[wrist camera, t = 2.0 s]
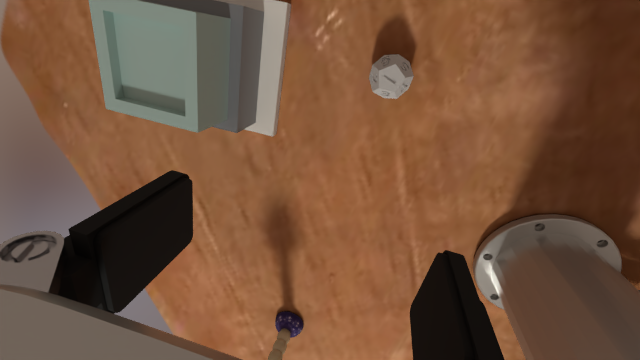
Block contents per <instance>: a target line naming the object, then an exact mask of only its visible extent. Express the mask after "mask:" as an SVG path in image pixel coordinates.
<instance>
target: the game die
mask: <svg viewBox="0 0 640 360" xmlns="http://www.w3.org/2000/svg"><path fill="white" fill-rule="evenodd" d="M413 77H414V75H413V72H412V69H411V65H410V62H409V61H407V60H406V59H405V58H403V57H402V56H400V55H399V54H393V55H384V56H383V57H381V58H380V59H379V60H378V61H377V62H375V63H374V64H373V65H372V69H371V73H370V76H369V80H370V84H371V87H372V91H373V92H374V93H376V94H378V95H379V96H381V97H383V98H395V99H397V98H398V97H399V96H401V95H402V94H403V93H404V92H405V91H406V90H408V88H409V86H410V84H411V81H412V79H413Z"/></svg>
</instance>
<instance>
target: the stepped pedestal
mask: <svg viewBox="0 0 640 360" xmlns="http://www.w3.org/2000/svg"><path fill="white" fill-rule="evenodd" d="M89 5H90V11H91V18H92V24H93V30H94V36H95V43H96V49H97V55H98V62H99V68H100V74H101V80H102V87H103V93H104V99H105V106H106V109H109V110H112V111H116V112H120V113H124V114H128V115H132V116H136V117H139V118H143V119H147V120H151V121H155V122H159V123H163V124H166V125H170V126H174V127H178V128H182V129H186V130H190V131H194V132H197V133H198V132H200V131H203V130H205V129H207V128H210V127H216V128H220V129H223V130H227V131H231V132H235V133H238V132H240V131H242V130H243V129H245V130H249V131H253V132H257V133H261V134H265V135H269V136H274V135H276V133H277V124H278V115H279V107H280V98H281V89H282V80H283V72H284V63H285V54H286V45H287V37H288V28H289V19H290V10H291V4H289V3H286V2H281V1H276V0H89Z"/></svg>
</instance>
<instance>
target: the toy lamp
mask: <svg viewBox="0 0 640 360" xmlns="http://www.w3.org/2000/svg"><path fill="white" fill-rule="evenodd" d="M275 324H276V329H277V330H278V332H279V333H278V336H277V340H276V341H275V343H274V345H273V350H272V351H271V352H270V354H269V356H268V360H282V355H283V354H284V352H285V350H286V347H287V343H288V342H289V340H290V338H291V337H295V336H297V335H298V334H299V333H300V332H301V331H302V329H303V321H302V320H301V318H300V317H299V316H297V315H295V314H294V313H291V312H286V311H285V312H280V313H279V314H278V315H277V316H276V321H275Z"/></svg>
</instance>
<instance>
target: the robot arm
mask: <svg viewBox="0 0 640 360" xmlns="http://www.w3.org/2000/svg"><path fill="white" fill-rule="evenodd" d="M69 233H70V235H69V236H67V237H66V238H63V237H62V235H61V234H58V233H56V232H51V231H36V232H30V233H25V234H22V235H19V236H16V237H13V238H11V239H9V240H7V241H5V242H3V243H2V244H0V360H242V359H239V358H236V357H234V356H231V355H228V354H225V353H222V352H220V351H217V350H214V349H211V348H208V347H206V346H203V345H200V344H197V343H194V342H192V341H189V340H186V339H183V338H180V337H178V336H175V335H172V334H169V333H166V332H163V331H161V330H158V329H155V328H152V327H149V326H146V325H144V324H141V323H138V322H135V321H132V320H129V319H127V318H123V317H121V316H118V315H115V314H114V313H118V312H120V311H121V310H122V309H124V308H125V307H126V306H127V305H128V304H129V303H130V302H131V301H132V300H133V299H134V298H135V297H136V296H137V295H138V294H139V293H140V292H141V291H142V290H143V289H144V288H145V287H146V286H147V285H148V284H149V283H150V282H151V281H152V280H153V279H154V278H155V277H156V276H157V275H158V274H159V273H160V272H161V271H162V270H163V269H164V268H165V267H166V266H167V265H168V264H169V263H170V262H171V261H172V260H173V259H174V258H175V257H176V256H177V255H178V254H179V253H180V252H181V251H182V250H183V249H184V248H185V247H186V246H187V245H188V244H189V243H190V242H191V240H192V237H193V197H192V180H190V179H189V176H188V175H187V174H184V173H180V172H177V171H169V172H167V173H166V174H164V175H162V176H160V177H159V178H157V179H155V180H153V181H152V182H150V183H148V184H146V185H145V186H143V187H141V188H139V189H138V190H136V191H134V192H132V193H131V194H129V195H127V196H125V197H124V198H122V199H120V200H118V201H117V202H115V203H113V204H111V205H110V206H108V207H106V208H104V209H103V210H101V211H99V212H97V213H96V214H94V215H92V216H91V217H89V218H87V219H85V220H84V221H82V222H80V223H78V224H77V225H75V226H73V227H71V228H70V229H69ZM621 270H622V258H621V255H620V252H619V249H618V247H617V246H616V244H615V243H614V241H613V240H612V239H611V238H610V237H609V236H608V235H606V234H605V233H604V232H603V231H602V230H600V229H599V228H598V227H596V226H595V225H594V224H591V223H589V222H587V221H585V220H582V219H579V218H576V217H572V216H568V215H557V214H545V215H535V216H530V217H524V218H521V219H518V220H515V221H512V222H510V223H508V224H506V225H504V226H502V227H500V228H498V229H497V230H496V231H494V232H493V233H492V234H490V235H489V236H488V237H487V238H486V239H485V240H484V241H483V242H482V244H481V245H480V247H479V248H478V250H477V252H476V255H475V258H474V261H473V272H474V277H475V280H476V282H477V285H478V287H479V289H480V291H481V292H482V294H483V295H484V296H485V297H486V298H487V299H488V300H489V301H490V302H492V303H493V304H495V305H496V306H497V307H499V308H501V309H504V310H505V312H506V314H507V316H508V319H509V321H510V323H511V326H512V328H513V330H514V333H515V335H516V337H517V340H518V342H519V344H520V347H521V349H522V351H523V354H524V356H525V358H526V360H640V290H637V289H636V288H635V287H634V286H633V285H632V284H631V283H630V282H629V281H628V280H627V279H626V278H625V277H624V276H623V275H622V274H621ZM410 323H411V336H412V349H413V360H504V357H503V355H502V352H501V349H500V346H499V344H498V341H497V338H496V336H495V333H494V330H493V327H492V325H491V322H490V319H489V316H488V314H487V311H486V308H485V306H484V304H483V303H482V302H481V301H480V299H479V297H478V294H477V291H476V288H475V285H474V283H473V280H472V277H471V274H470V271H469V269H468V266H467V263H466V260H465V258H464V256H463V255H461V254H457V253H454V252H451V251H447V250H445V251H444V252H443V253H438V254H437V255H436V257H435V259H434V261H433V263H432V265H431V267H430V269H429V271H428V273H427V275H426V277H425V279H424V281H423V283H422V285H421V287H420V289H419V291H418V293H417V295H416V297H415V299H414V301H413V303H412V305H411V309H410Z"/></svg>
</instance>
